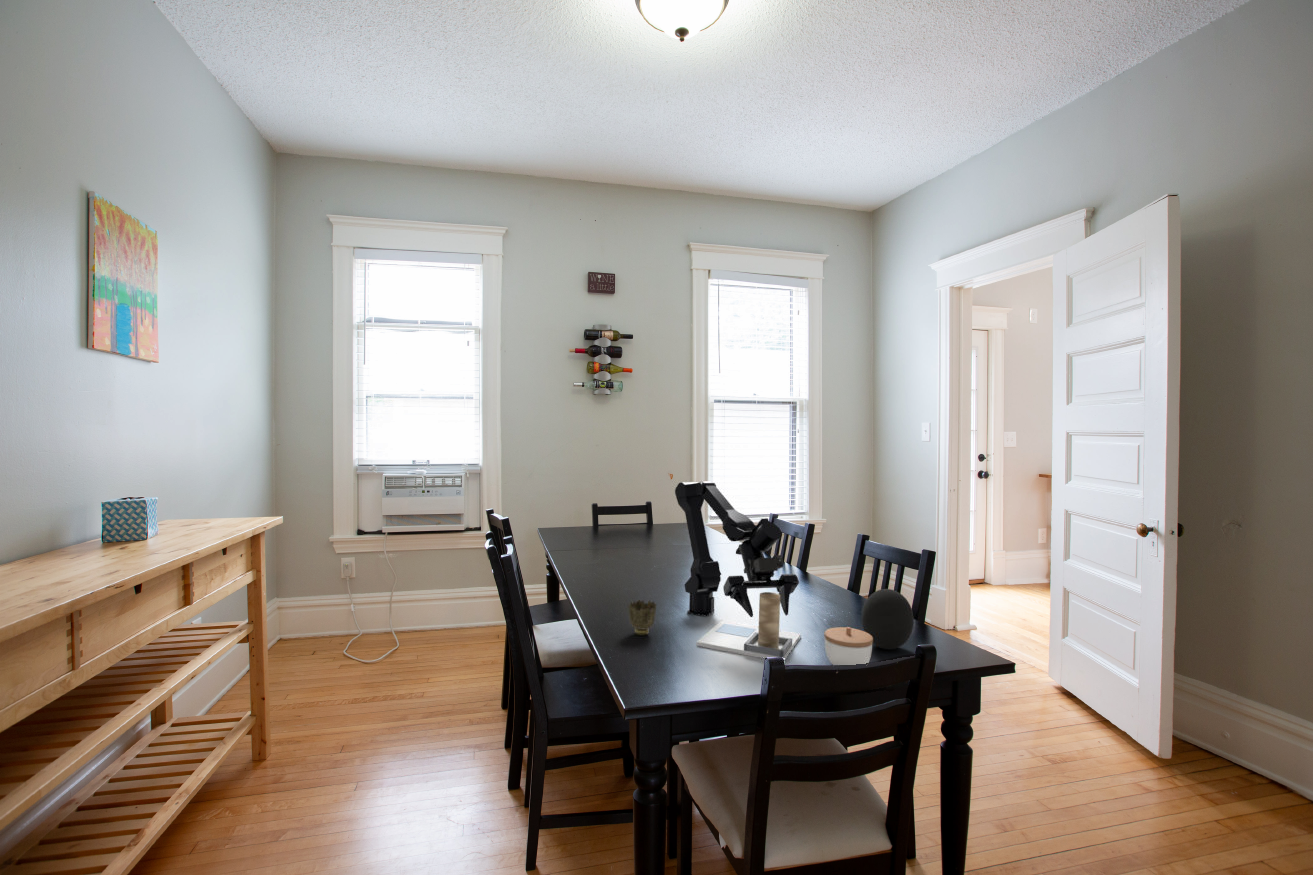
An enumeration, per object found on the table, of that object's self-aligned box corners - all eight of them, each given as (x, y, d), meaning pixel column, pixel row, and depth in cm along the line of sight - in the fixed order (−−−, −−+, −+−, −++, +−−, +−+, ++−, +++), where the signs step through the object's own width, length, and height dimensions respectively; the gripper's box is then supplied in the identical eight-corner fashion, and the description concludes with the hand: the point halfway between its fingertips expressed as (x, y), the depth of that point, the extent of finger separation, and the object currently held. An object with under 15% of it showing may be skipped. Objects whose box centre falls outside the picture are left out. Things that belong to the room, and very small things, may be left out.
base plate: (696, 645, 152) (696, 635, 152) (721, 624, 169) (722, 615, 169) (783, 662, 143) (783, 651, 143) (800, 637, 160) (800, 628, 160)
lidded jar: (836, 678, 134) (837, 636, 134) (815, 659, 145) (816, 620, 145) (881, 676, 136) (882, 634, 136) (857, 657, 147) (858, 619, 146)
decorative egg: (868, 636, 162) (870, 580, 162) (917, 646, 155) (919, 588, 155) (854, 649, 152) (856, 590, 152) (906, 661, 145) (908, 599, 145)
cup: (659, 631, 162) (660, 601, 162) (650, 640, 155) (651, 609, 155) (633, 627, 165) (634, 598, 164) (623, 636, 158) (624, 605, 158)
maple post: (755, 648, 148) (757, 595, 148) (761, 642, 153) (762, 591, 152) (775, 652, 146) (777, 598, 146) (780, 645, 151) (782, 593, 150)
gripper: (728, 544, 152) (742, 600, 141) (797, 542, 156) (816, 597, 145) (717, 567, 160) (730, 623, 149) (783, 566, 164) (800, 619, 153)
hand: (769, 615), depth 149 cm, fingers open, 9 cm apart
